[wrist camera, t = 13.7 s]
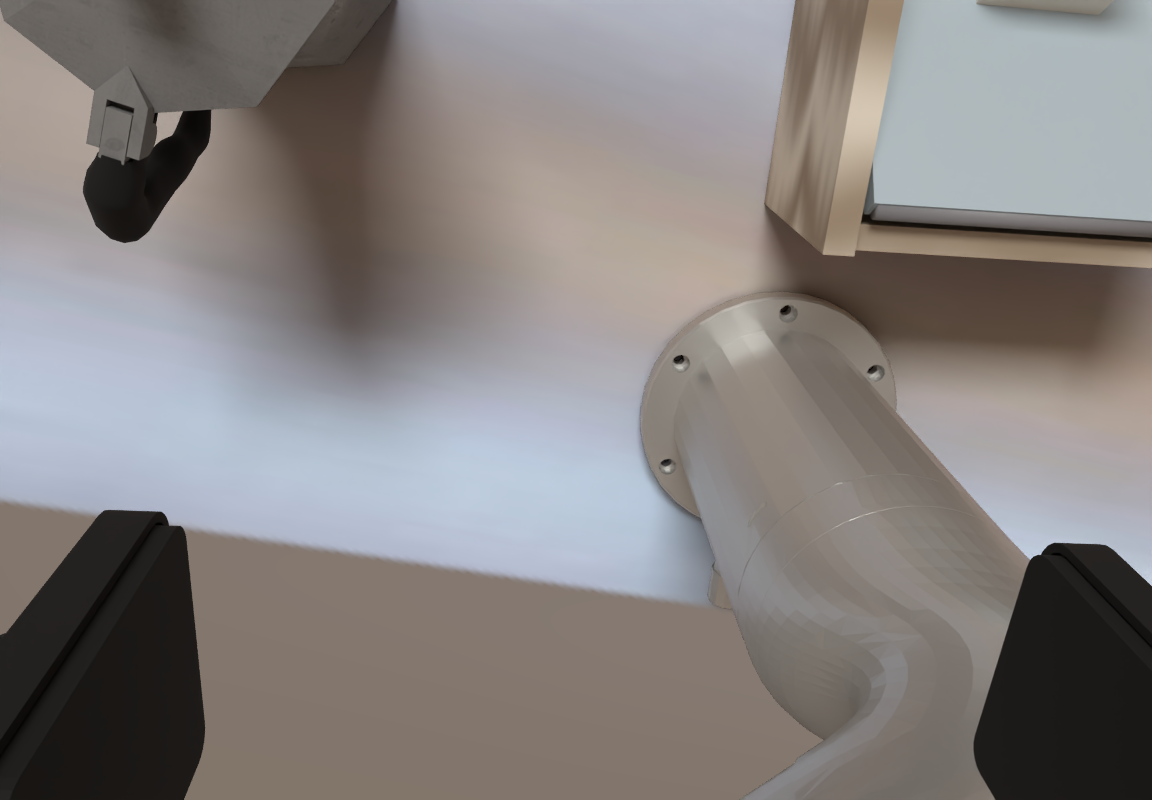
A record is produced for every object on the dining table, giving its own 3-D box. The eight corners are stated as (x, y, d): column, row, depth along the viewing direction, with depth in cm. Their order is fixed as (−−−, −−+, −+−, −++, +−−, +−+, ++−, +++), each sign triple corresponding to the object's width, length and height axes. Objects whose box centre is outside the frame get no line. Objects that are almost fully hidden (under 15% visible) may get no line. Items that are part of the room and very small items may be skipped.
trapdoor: (1216, 246, 37) (1236, 236, 36) (864, 223, 36) (874, 213, 35) (1176, -80, 40) (1194, -96, 39) (851, -109, 39) (860, -128, 38)
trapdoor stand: (1121, 226, 45) (1257, 280, 37) (764, 203, 44) (822, 254, 35) (1237, -155, 39) (1432, -193, 31) (825, -197, 37) (913, -248, 29)
